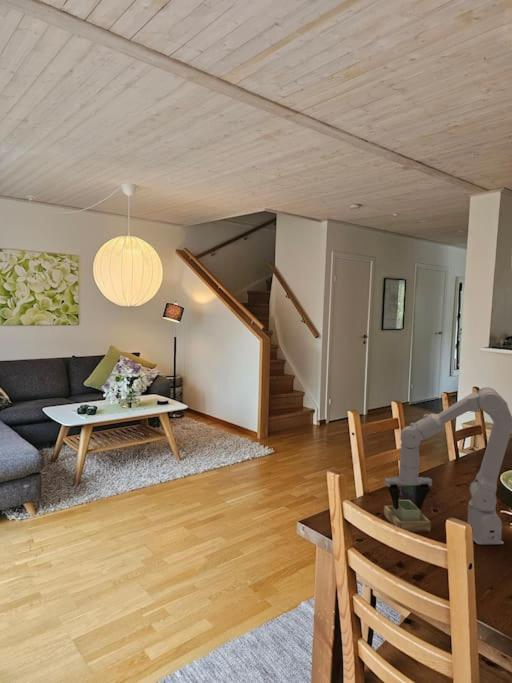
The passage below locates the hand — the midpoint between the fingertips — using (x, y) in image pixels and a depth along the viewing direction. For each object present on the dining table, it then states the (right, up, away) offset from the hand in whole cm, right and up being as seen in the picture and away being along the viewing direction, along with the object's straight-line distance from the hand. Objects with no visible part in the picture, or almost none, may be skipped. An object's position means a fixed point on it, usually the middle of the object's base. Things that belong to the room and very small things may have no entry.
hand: (407, 507), depth 143 cm
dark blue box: (+7, -4, +18) cm, 20 cm away
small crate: (0, -4, +1) cm, 4 cm away
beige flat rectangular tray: (0, -5, 0) cm, 5 cm away
